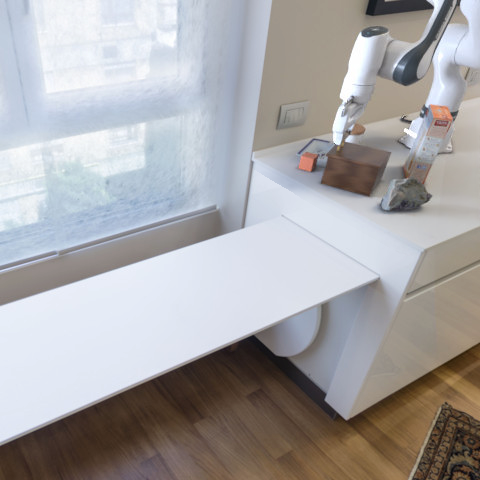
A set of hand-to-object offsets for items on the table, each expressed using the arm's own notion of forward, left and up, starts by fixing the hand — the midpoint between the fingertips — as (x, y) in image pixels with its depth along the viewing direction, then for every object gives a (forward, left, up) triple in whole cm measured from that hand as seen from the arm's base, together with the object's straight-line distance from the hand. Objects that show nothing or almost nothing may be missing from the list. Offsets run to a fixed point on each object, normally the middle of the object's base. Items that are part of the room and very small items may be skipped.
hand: (342, 139), depth 139 cm
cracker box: (-18, +23, -13) cm, 32 cm away
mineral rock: (+9, +25, -13) cm, 29 cm away
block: (-2, -9, -13) cm, 16 cm away
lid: (0, +6, -4) cm, 7 cm away
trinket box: (-28, -4, -13) cm, 31 cm away
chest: (0, +7, -13) cm, 14 cm away
